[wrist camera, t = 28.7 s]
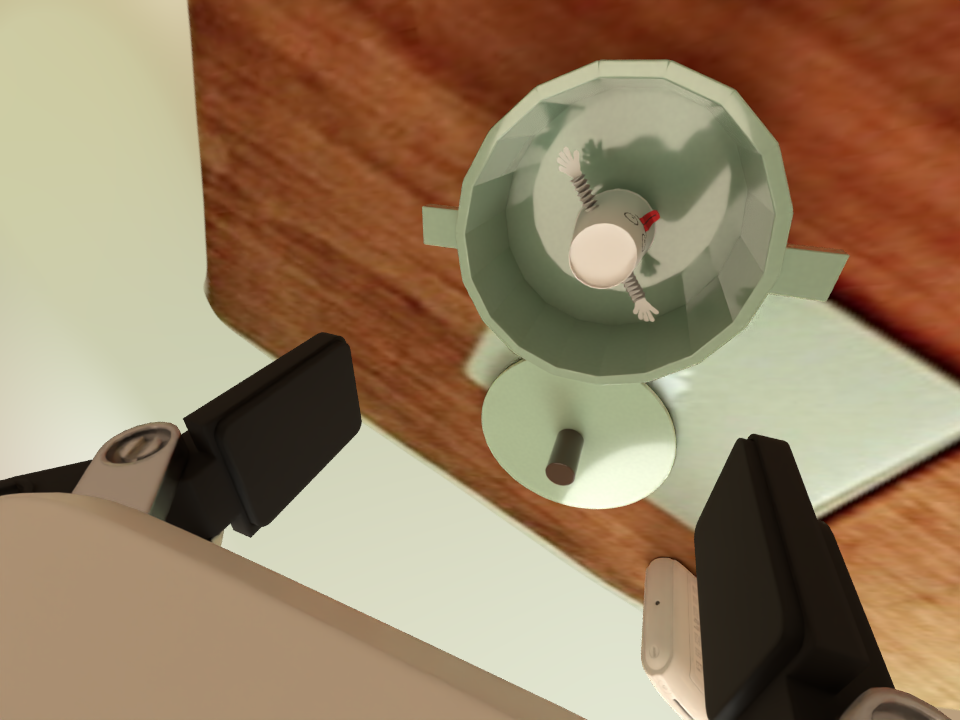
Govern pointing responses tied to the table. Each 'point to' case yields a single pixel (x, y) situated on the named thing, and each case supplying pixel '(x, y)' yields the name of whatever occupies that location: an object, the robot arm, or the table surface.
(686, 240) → the pot
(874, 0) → the table surface
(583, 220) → the toy figure
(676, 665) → the photo printer
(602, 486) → the lid
